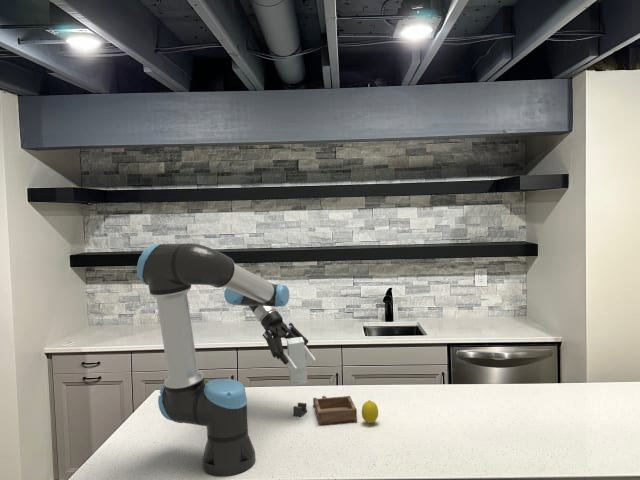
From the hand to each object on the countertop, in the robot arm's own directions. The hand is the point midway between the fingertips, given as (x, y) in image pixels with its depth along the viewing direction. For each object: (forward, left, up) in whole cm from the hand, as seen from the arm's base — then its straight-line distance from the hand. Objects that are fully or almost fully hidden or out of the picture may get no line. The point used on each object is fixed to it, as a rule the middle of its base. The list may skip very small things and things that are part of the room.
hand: (303, 366), depth 172 cm
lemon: (-9, -21, -19) cm, 29 cm away
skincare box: (+2, +2, -6) cm, 7 cm away
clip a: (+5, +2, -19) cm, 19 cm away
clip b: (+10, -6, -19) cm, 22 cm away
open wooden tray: (0, -10, -19) cm, 21 cm away
